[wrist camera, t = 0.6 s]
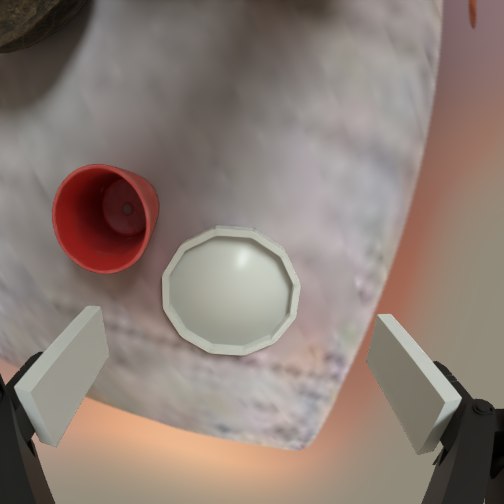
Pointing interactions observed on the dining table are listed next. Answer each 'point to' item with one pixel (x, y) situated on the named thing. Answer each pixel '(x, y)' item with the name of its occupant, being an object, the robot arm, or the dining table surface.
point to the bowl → (32, 21)
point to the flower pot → (104, 217)
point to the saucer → (230, 290)
